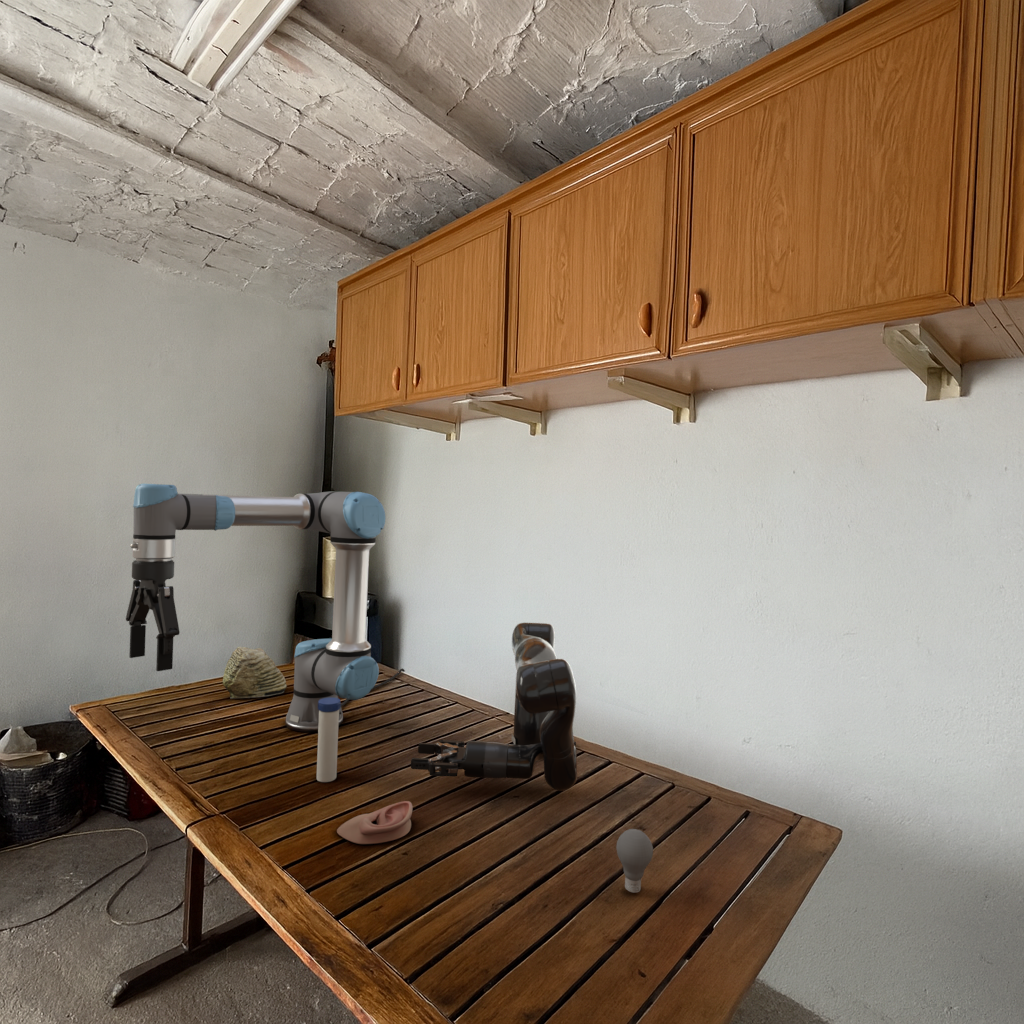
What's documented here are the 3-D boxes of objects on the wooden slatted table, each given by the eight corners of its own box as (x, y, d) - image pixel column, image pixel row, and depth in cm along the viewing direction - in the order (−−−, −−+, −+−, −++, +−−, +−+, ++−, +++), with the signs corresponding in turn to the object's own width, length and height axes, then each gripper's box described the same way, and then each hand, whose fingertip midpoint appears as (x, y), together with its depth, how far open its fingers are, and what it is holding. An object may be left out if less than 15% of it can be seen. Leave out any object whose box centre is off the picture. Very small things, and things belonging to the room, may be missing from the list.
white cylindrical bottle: (340, 776, 144) (343, 701, 144) (328, 783, 140) (331, 707, 140) (324, 772, 146) (327, 698, 145) (312, 779, 141) (315, 703, 141)
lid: (344, 707, 144) (345, 699, 144) (331, 713, 139) (331, 705, 139) (327, 703, 146) (327, 696, 146) (313, 709, 141) (313, 702, 141)
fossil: (218, 695, 195) (220, 647, 195) (278, 685, 208) (279, 640, 207) (228, 703, 189) (230, 653, 188) (289, 692, 201) (290, 645, 201)
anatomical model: (329, 818, 117) (357, 790, 128) (328, 839, 117) (356, 810, 128) (397, 828, 114) (419, 799, 126) (396, 850, 114) (418, 819, 126)
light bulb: (610, 879, 108) (613, 822, 108) (644, 879, 109) (647, 822, 109) (619, 902, 102) (622, 840, 102) (655, 901, 103) (658, 840, 103)
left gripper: (110, 554, 134) (107, 654, 134) (159, 566, 118) (155, 679, 119) (148, 553, 140) (145, 649, 140) (200, 564, 124) (196, 672, 124)
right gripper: (490, 731, 148) (421, 727, 149) (485, 755, 134) (409, 751, 134) (488, 763, 148) (419, 759, 149) (483, 790, 134) (407, 786, 135)
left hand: (150, 663), depth 129 cm, fingers open, 13 cm apart
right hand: (414, 755), depth 142 cm, fingers open, 8 cm apart
